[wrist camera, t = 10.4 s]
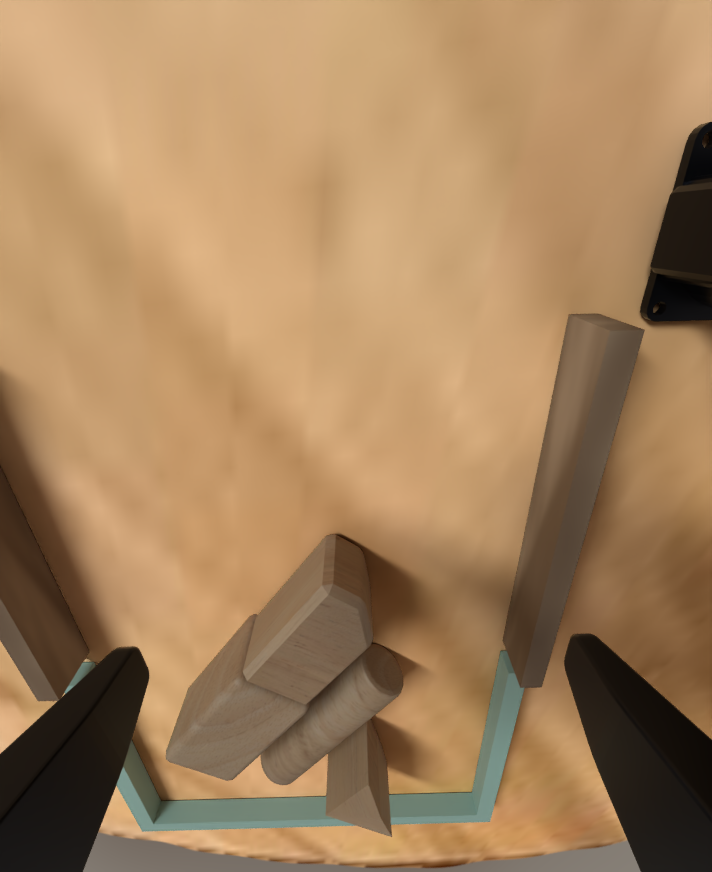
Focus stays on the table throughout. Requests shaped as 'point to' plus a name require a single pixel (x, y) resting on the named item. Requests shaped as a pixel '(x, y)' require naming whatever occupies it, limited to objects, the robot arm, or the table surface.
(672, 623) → the table surface
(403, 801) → the frame
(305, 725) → the wooden block set
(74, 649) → the pair of brown bars
